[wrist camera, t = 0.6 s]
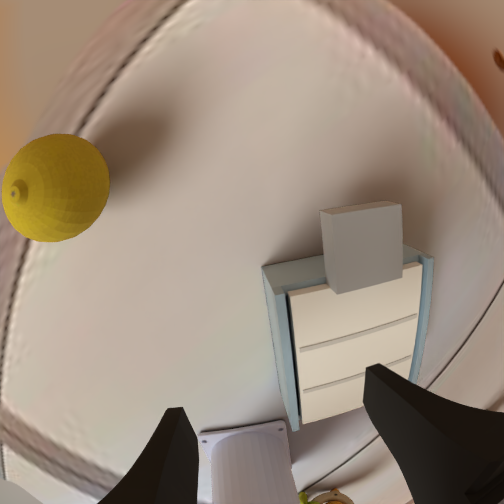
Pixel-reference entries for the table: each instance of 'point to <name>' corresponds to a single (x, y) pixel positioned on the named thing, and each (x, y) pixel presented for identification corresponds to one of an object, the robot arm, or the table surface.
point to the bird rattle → (326, 498)
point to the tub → (312, 274)
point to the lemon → (55, 187)
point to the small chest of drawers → (354, 309)
